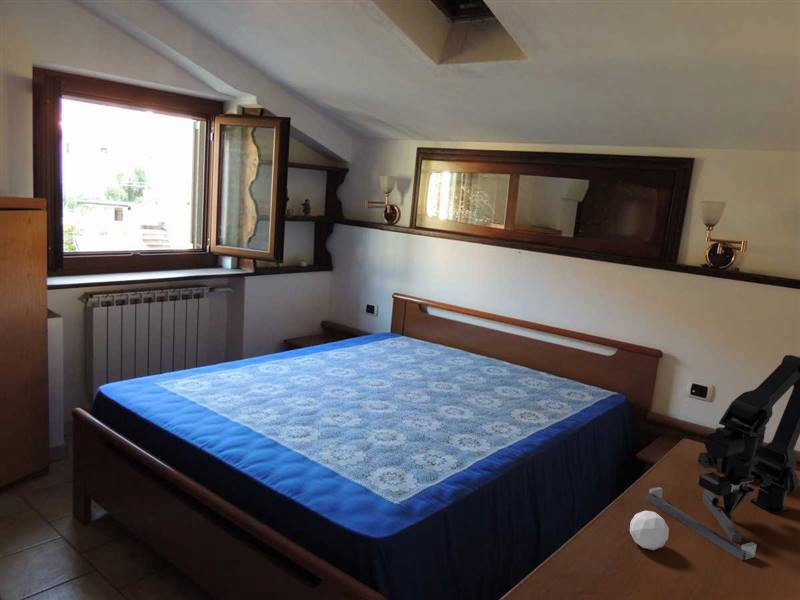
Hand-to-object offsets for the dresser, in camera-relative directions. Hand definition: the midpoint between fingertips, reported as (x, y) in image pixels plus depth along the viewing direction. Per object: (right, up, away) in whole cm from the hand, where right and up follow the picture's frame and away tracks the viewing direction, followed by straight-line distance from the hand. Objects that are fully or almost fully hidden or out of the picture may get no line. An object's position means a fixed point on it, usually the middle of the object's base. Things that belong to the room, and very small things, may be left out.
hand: (728, 513), depth 149 cm
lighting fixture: (-2, -2, 0) cm, 3 cm away
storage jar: (+16, +2, +27) cm, 31 cm away
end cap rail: (-10, -2, -4) cm, 11 cm away
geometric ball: (-25, -3, -14) cm, 29 cm away
